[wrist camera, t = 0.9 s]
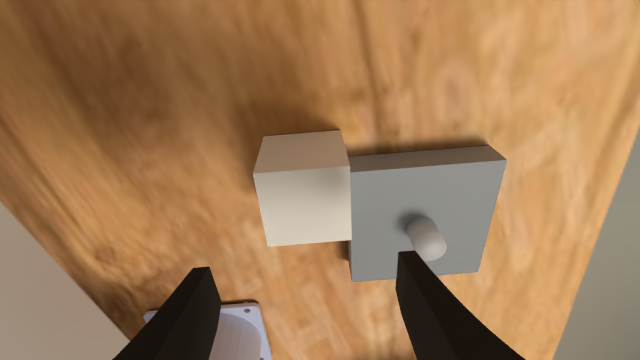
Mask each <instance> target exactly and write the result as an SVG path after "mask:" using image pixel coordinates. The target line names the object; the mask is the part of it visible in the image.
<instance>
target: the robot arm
mask: <svg viewBox="0 0 640 360" xmlns="http://www.w3.org/2000/svg"><path fill="white" fill-rule="evenodd" d="M396 293H397V297H398V302H399V306H400V310H401V314H402V317H403V320H404V323H405V326H406V329H407V332H408V335H409V337H410V340H411V343H412V346H413V349H414V352H415V354H416V357H417V360H525V359H524V358H523V357H521V356H520V355H519V354H518V353H516V352H515V351H514V350H513V349H511V348H510V347H509V346H508V345H507V344H505V343H504V342H503V341H502V340H501V339H499V338H498V337H497V336H496V335H495V334H494V333H492V332H491V331H490V330H489V329H488V328H487V327H486V326H485V325H483V324H482V323H481V322H480V321H479V320H478V319H477V318H476V317H475V316H474V315H473V314H472V313H471V312H470V311H469V310H468V309H467V308H466V307H465V306H464V305H463V304H462V303H461V302H460V301H459V300H458V299H457V298H456V297H455V296H454V295H453V294H452V293H451V292H450V291H449V289H448V288H447V287H446V286H445V285H444V284H443V283H442V282H441V281H440V280H439V278H438V277H437V276H436V275H435V274H434V273H433V271H432V270H431V269H430V268H429V267H428V265H427V264H426V263H425V262H424V261H423V259H422V258H421V257H420V256H419V254H418V253H417V252H416V251H415V250H413V251H400V252H398V263H397V277H396ZM221 304H222V302H221V299H220V296H219V293H218V290H217V287H216V285H215V282H214V279H213V276H212V273H211V270H210V267H199V268H193V269H192V270H191V271H190V272H189V274H188V275H187V276H186V277H185V278H184V280H183V281H182V282H181V283H180V285H179V286H178V287H177V288H176V290H175V291H174V292H173V293H172V294H171V296H170V297H169V298H168V299H167V301H166V302H165V303H164V304H163V305H162V306H161V308H160V309H159V310H154V311H147V312H146V313H145V315H144V317H143V318H144V320H145V322H146V325H145V326H144V327H143V328H142V329H141V330H140V331H139V333H138V334H137V335H136V336H135V337H134V338H133V339H132V340H131V341H130V342H129V343H128V345H126V347H125V348H124V349H123V350H122V351H121V352H120V353H119V354H118V355H117V356H116V357H115V358H114V359H113V360H272V352H271V348H270V344H269V340H268V337H267V333H266V329H265V325H264V321H263V317H262V313H261V309H260V306H259V304H257V303H242V304H229V305H221Z"/></svg>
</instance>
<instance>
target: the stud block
mask: <svg viewBox="0 0 640 360" xmlns="http://www.w3.org/2000/svg"><path fill="white" fill-rule="evenodd" d="M348 160H349V164H350V187H351V227H352V240H348V258H349V267H350V273H351V280H352V282H361V281H373V280H386V279H396V277H397V263H398V252H400V251H413V250H415V251H416V252H417V253H418V254H419V256H420V257H421V258H422V259H423V261H424V262H425V263H426V264H427V265H428V267H429V268H430V269H431V270H432V271H433V273H434V274H435V275H448V274H461V273H473V272H478V269H479V265H480V262H481V258H482V254H483V250H484V246H485V242H486V239H487V235H488V231H489V227H490V223H491V219H492V216H493V212H494V208H495V204H496V200H497V196H498V193H499V189H500V185H501V181H502V177H503V173H504V170H505V166H506V162H507V159H505V158H504V157H503V156H502V155H501V154H499V153H498V152H497V151H496V150H494V149H493V148H492V147H491V146H490V145H487V146H474V147H462V148H450V149H437V150H425V151H413V152H400V153H388V154H376V155H363V156H351V157H348Z"/></svg>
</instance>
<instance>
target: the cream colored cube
mask: <svg viewBox="0 0 640 360" xmlns="http://www.w3.org/2000/svg"><path fill="white" fill-rule="evenodd" d="M253 177H254V182H255V187H256V192H257V197H258V202H259V206H260V211H261V216H262V221H263V226H264V231H265V235H266V240H267V245H268V247H270V246H283V245H295V244H308V243H320V242H333V241H345V240H352V227H351V187H350V164H349V160H348V156H347V152H346V148H345V144H344V141H343V137H342V133H341V130H336V131H323V132H311V133H299V134H287V135H274V136H264V137H263V140H262V144H261V147H260V150H259V154H258V157H257V161H256V164H255V168H254V171H253Z"/></svg>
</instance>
